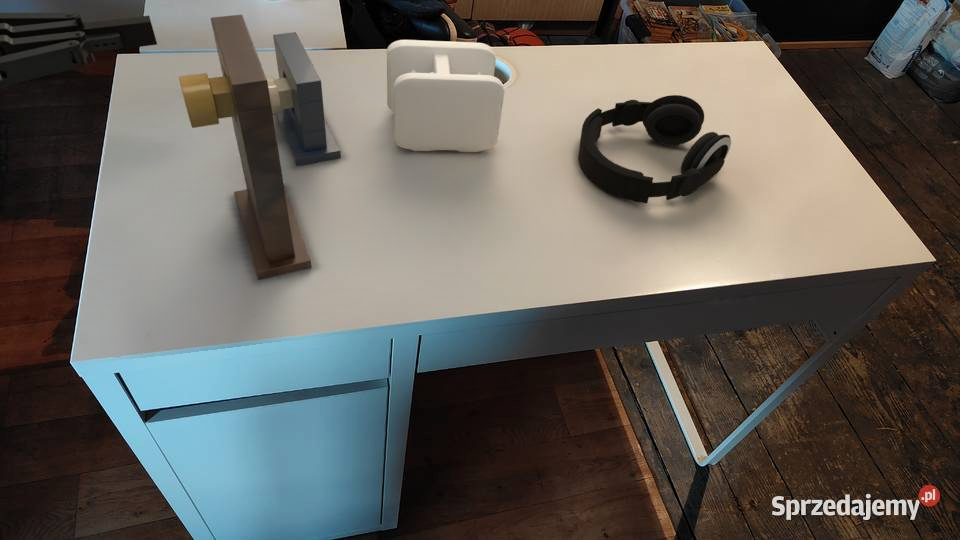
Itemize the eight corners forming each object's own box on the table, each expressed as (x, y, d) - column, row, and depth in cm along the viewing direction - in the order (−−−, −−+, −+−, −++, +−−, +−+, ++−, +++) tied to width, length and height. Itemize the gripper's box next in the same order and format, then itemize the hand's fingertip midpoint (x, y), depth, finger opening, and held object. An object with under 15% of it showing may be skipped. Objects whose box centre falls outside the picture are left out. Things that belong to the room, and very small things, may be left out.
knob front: (194, 138, 63) (182, 94, 59) (187, 109, 66) (176, 66, 62) (264, 127, 65) (256, 84, 62) (254, 99, 68) (247, 57, 64)
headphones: (760, 146, 86) (622, 183, 81) (742, 191, 92) (613, 227, 87) (687, 73, 97) (562, 102, 92) (675, 118, 103) (557, 147, 98)
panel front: (257, 280, 73) (215, 93, 56) (235, 198, 82) (192, 14, 64) (311, 267, 75) (287, 83, 58) (284, 189, 84) (255, 7, 66)
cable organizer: (387, 153, 90) (387, 78, 82) (387, 108, 97) (386, 35, 89) (495, 155, 93) (506, 82, 84) (487, 111, 99) (496, 39, 91)
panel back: (296, 166, 87) (286, 90, 78) (271, 106, 95) (259, 32, 86) (340, 157, 89) (335, 82, 80) (312, 100, 97) (305, 26, 88)
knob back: (263, 124, 86) (258, 91, 82) (255, 103, 88) (249, 71, 85) (313, 115, 88) (310, 83, 84) (304, 95, 91) (300, 64, 87)
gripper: (-78, 60, 72) (154, 33, 80) (-88, 128, 65) (170, 90, 73) (-117, -7, 67) (136, -29, 75) (-133, 59, 59) (151, 26, 67)
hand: (153, 30), depth 74 cm, fingers closed
